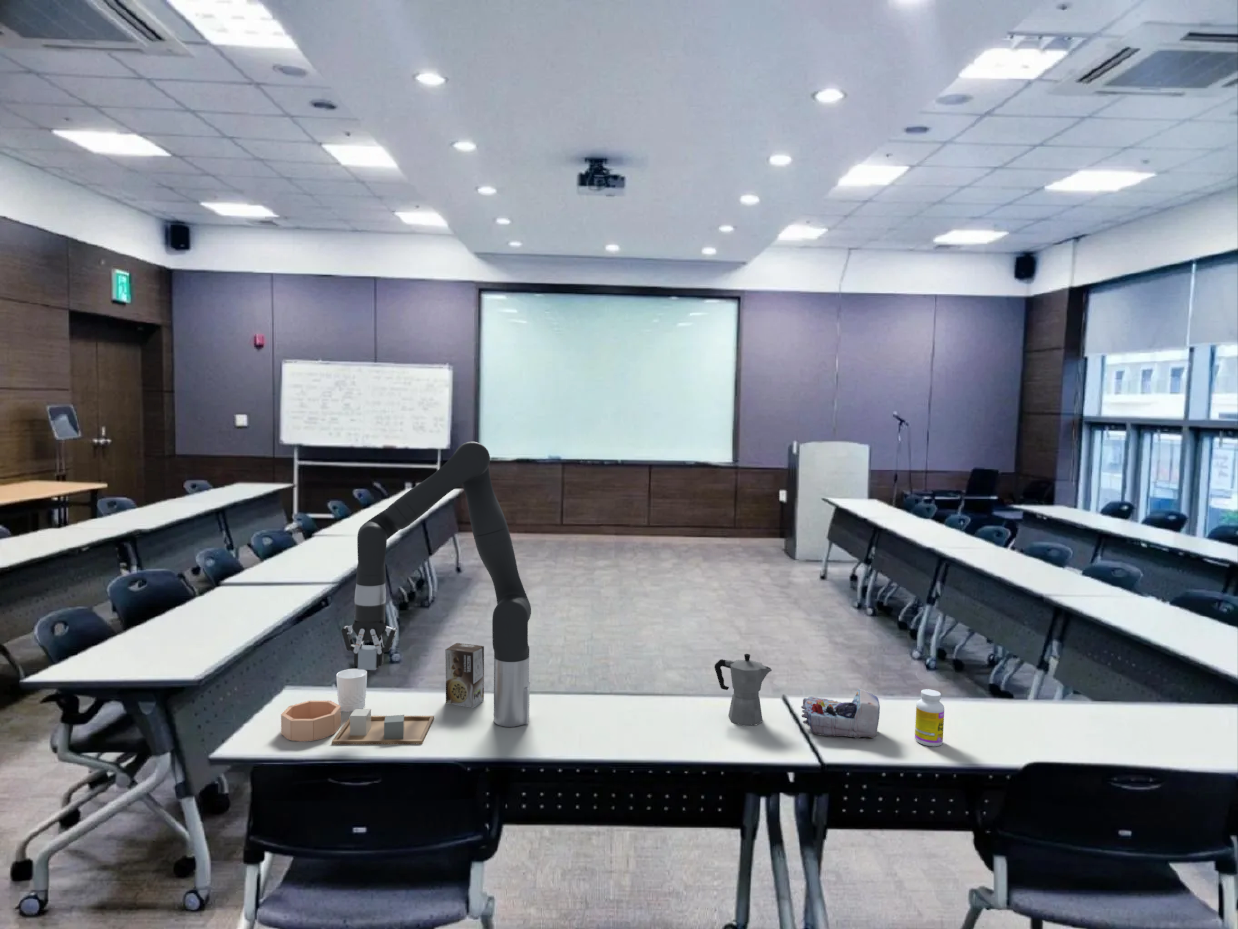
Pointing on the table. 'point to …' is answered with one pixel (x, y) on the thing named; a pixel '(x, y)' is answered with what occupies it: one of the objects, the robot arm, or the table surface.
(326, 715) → the terracotta bowl
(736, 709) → the coffeepot
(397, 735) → the medium grey cube
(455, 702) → the coffee box
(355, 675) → the white cup
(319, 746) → the table surface
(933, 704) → the supplement bottle
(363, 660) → the pale blue cube
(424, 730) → the walnut tray
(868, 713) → the cell model
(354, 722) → the pale grey cube
